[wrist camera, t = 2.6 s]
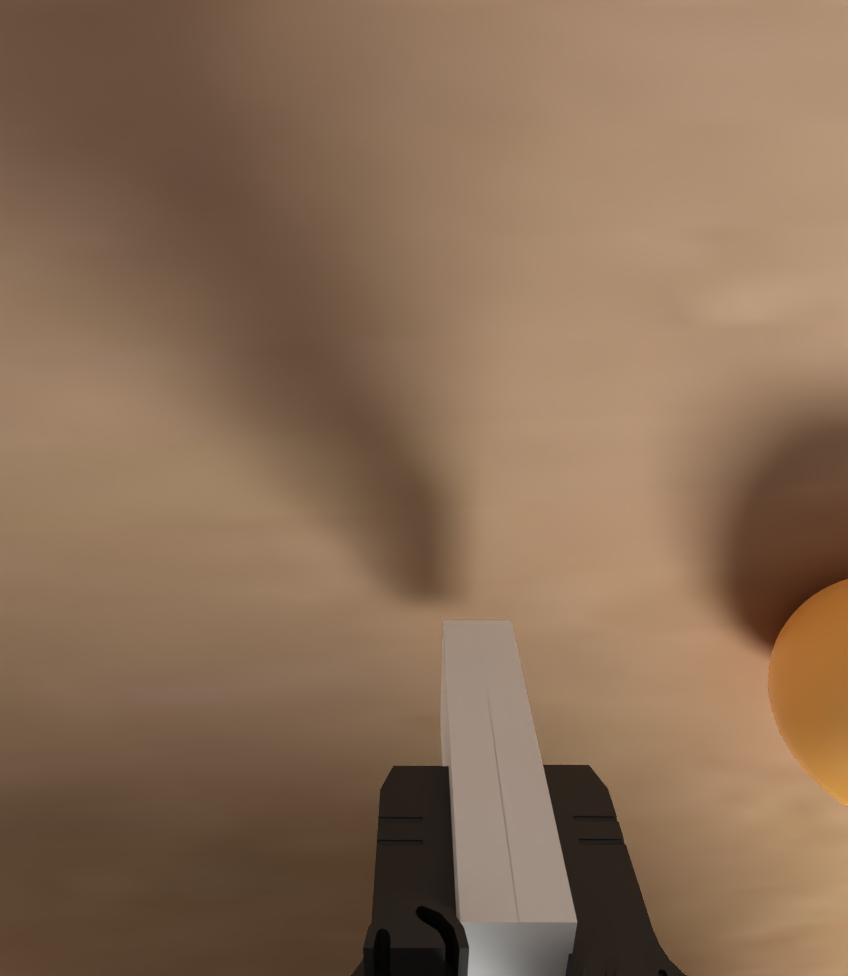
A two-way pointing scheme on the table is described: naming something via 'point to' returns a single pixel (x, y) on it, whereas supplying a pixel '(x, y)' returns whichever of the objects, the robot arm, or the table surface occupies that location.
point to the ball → (815, 687)
